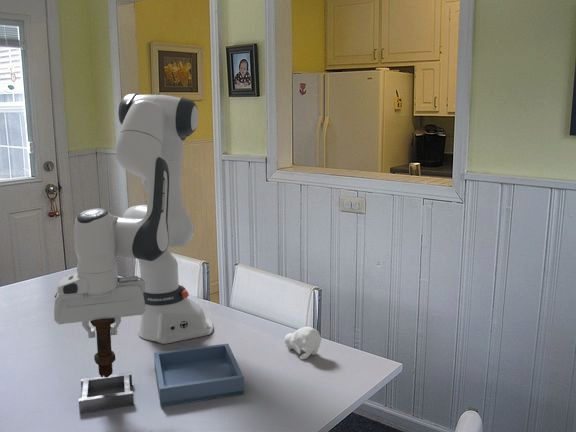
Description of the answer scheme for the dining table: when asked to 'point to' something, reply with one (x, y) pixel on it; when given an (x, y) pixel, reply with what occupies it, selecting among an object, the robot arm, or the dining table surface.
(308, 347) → the white figurine
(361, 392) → the dining table surface
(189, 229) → the robot arm
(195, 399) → the tray
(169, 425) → the dining table surface
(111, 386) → the bracket
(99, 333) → the bolt
